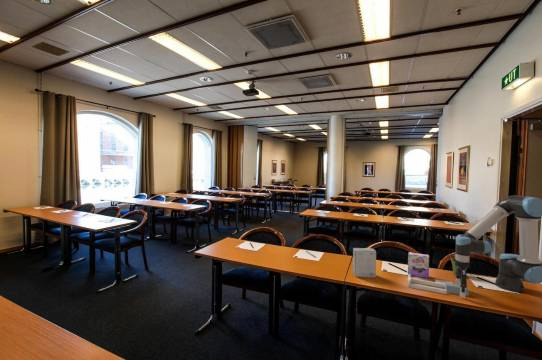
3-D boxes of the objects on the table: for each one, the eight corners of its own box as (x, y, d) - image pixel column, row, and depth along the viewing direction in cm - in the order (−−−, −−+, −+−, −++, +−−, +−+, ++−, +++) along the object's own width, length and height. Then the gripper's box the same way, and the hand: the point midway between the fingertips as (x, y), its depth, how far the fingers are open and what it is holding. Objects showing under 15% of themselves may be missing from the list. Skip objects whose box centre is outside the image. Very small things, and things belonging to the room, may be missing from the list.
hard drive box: (373, 273, 199) (373, 248, 198) (376, 278, 192) (376, 251, 191) (352, 272, 201) (353, 247, 200) (354, 276, 193) (355, 250, 192)
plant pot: (472, 276, 197) (473, 262, 197) (462, 278, 193) (462, 264, 192) (456, 271, 208) (456, 257, 208) (446, 272, 204) (446, 258, 203)
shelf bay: (443, 287, 178) (443, 280, 177) (446, 294, 168) (446, 286, 167) (408, 281, 187) (408, 274, 187) (408, 287, 177) (408, 279, 177)
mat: (452, 282, 185) (452, 282, 185) (455, 289, 175) (455, 288, 175) (434, 279, 190) (434, 279, 190) (436, 285, 180) (436, 284, 180)
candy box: (407, 274, 198) (408, 253, 198) (407, 272, 204) (408, 251, 203) (428, 278, 192) (429, 256, 191) (428, 275, 197) (428, 254, 197)
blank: (466, 293, 170) (466, 286, 169) (468, 296, 165) (468, 288, 165) (444, 289, 174) (445, 282, 174) (446, 292, 170) (446, 285, 170)
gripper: (451, 254, 181) (449, 283, 182) (459, 265, 158) (457, 299, 159) (464, 256, 177) (462, 286, 178) (474, 268, 155) (472, 302, 156)
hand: (460, 292), depth 169 cm, fingers open, 13 cm apart
